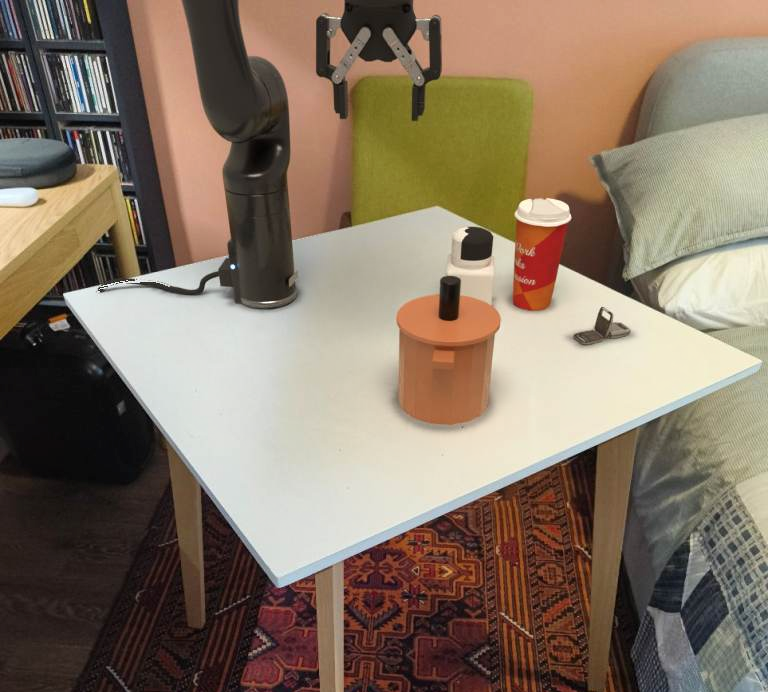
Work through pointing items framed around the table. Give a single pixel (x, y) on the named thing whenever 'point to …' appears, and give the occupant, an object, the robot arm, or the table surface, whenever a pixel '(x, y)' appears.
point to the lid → (448, 317)
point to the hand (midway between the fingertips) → (379, 118)
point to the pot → (444, 380)
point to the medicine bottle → (473, 262)
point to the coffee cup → (538, 251)
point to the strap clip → (603, 329)
